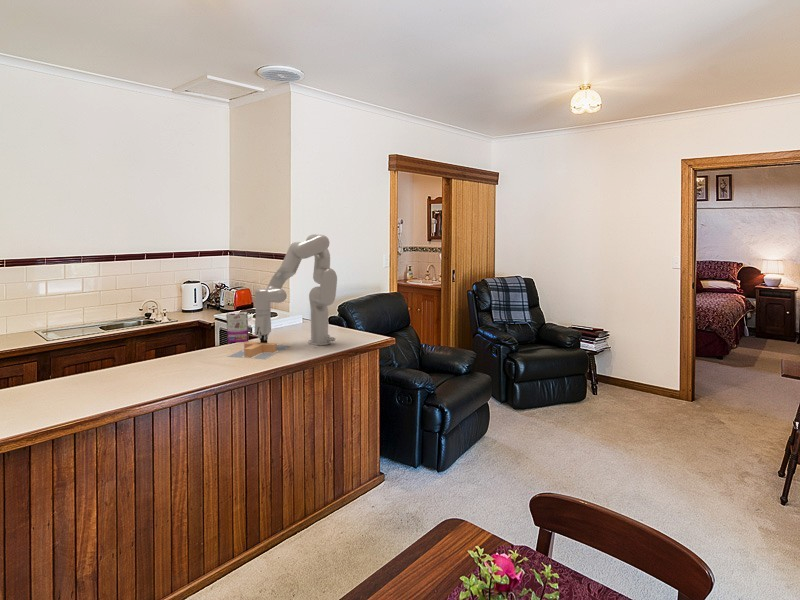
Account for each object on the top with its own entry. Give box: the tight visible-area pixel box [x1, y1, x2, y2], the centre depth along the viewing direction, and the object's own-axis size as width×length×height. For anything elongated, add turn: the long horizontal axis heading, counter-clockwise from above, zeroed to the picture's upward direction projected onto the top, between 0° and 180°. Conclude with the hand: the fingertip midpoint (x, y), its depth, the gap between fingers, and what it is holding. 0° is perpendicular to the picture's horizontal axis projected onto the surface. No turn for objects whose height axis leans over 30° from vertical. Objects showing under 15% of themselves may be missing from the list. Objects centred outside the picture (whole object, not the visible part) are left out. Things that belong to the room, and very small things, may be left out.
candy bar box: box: [225, 311, 249, 344], centre depth 288 cm, size 11×5×16 cm, turn 105°
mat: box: [227, 344, 291, 360], centre depth 266 cm, size 20×30×1 cm, turn 169°
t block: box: [243, 341, 278, 357], centre depth 260 cm, size 16×15×4 cm
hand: (264, 347), depth 270 cm, fingers closed
